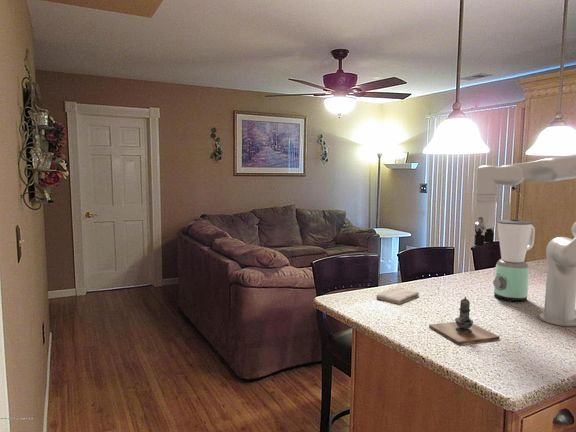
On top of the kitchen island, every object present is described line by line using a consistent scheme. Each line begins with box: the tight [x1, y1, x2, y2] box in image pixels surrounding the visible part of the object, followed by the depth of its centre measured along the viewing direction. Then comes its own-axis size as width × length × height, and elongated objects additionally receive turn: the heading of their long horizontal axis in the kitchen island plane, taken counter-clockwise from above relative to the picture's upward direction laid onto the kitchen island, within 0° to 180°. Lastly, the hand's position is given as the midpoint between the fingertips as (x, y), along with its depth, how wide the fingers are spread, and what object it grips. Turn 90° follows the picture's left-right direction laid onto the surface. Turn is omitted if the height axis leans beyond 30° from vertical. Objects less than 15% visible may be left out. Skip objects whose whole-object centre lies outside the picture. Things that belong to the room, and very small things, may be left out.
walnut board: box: [428, 321, 500, 346], centre depth 148 cm, size 16×16×1 cm
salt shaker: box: [454, 296, 474, 333], centre depth 147 cm, size 6×6×12 cm
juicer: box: [492, 218, 536, 303], centre depth 187 cm, size 19×13×35 cm
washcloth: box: [375, 287, 420, 305], centre depth 189 cm, size 12×18×3 cm, turn 137°
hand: (484, 243), depth 162 cm, fingers open, 9 cm apart
